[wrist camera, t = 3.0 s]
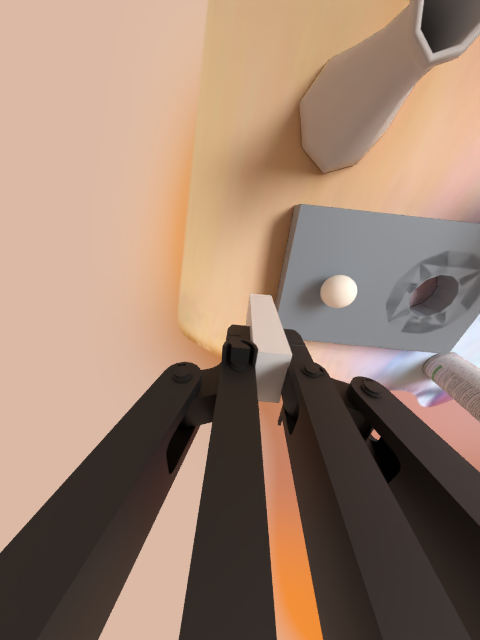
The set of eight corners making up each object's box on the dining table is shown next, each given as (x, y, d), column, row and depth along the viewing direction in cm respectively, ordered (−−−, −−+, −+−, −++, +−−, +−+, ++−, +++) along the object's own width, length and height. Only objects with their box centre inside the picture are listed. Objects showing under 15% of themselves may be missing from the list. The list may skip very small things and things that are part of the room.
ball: (321, 269, 19) (333, 278, 17) (352, 272, 19) (370, 282, 17) (312, 299, 21) (322, 311, 18) (341, 302, 21) (355, 315, 18)
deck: (294, 205, 19) (301, 204, 17) (509, 229, 19) (543, 230, 17) (270, 326, 26) (272, 337, 23) (431, 342, 26) (448, 354, 24)
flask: (376, 20, 14) (617, -342, 5) (397, 136, 16) (573, 42, 8) (283, 99, 16) (332, -55, 7) (316, 190, 18) (381, 165, 10)
